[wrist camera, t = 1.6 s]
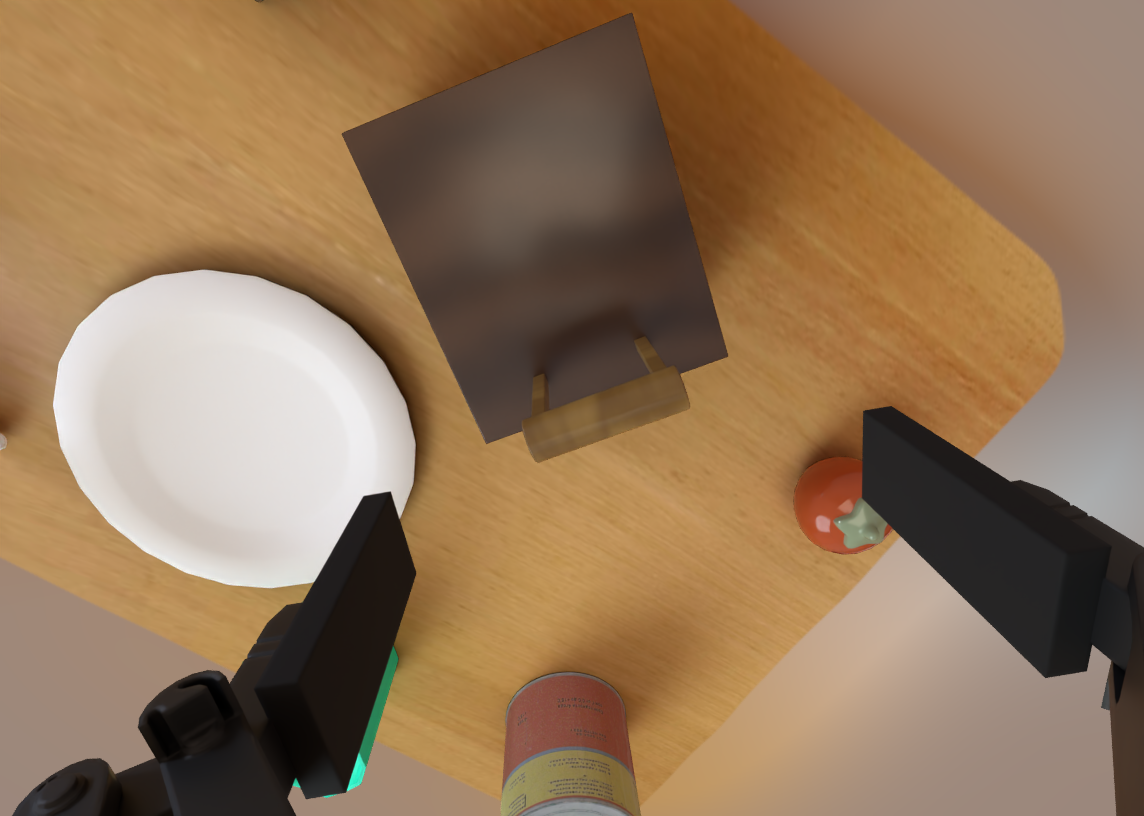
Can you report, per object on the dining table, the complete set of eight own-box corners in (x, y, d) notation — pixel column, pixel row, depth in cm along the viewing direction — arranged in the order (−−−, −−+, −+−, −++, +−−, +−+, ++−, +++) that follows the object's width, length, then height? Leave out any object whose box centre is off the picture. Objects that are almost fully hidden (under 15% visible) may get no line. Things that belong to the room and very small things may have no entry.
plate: (449, 320, 41) (445, 326, 40) (390, 602, 50) (385, 616, 48) (65, 221, 38) (45, 223, 36) (71, 542, 46) (54, 555, 45)
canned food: (483, 733, 56) (468, 872, 44) (549, 653, 53) (551, 780, 41) (581, 776, 58) (590, 917, 47) (649, 703, 55) (676, 835, 44)
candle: (315, 648, 51) (251, 778, 40) (374, 621, 50) (325, 746, 39) (354, 693, 53) (304, 830, 42) (411, 668, 52) (376, 800, 41)
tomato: (781, 530, 49) (824, 592, 42) (774, 451, 46) (819, 502, 39) (869, 512, 49) (929, 571, 41) (868, 432, 46) (930, 479, 39)
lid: (724, 352, 34) (792, 415, 25) (487, 438, 35) (468, 528, 26) (629, 16, 28) (672, -66, 19) (346, 134, 29) (256, 111, 20)
